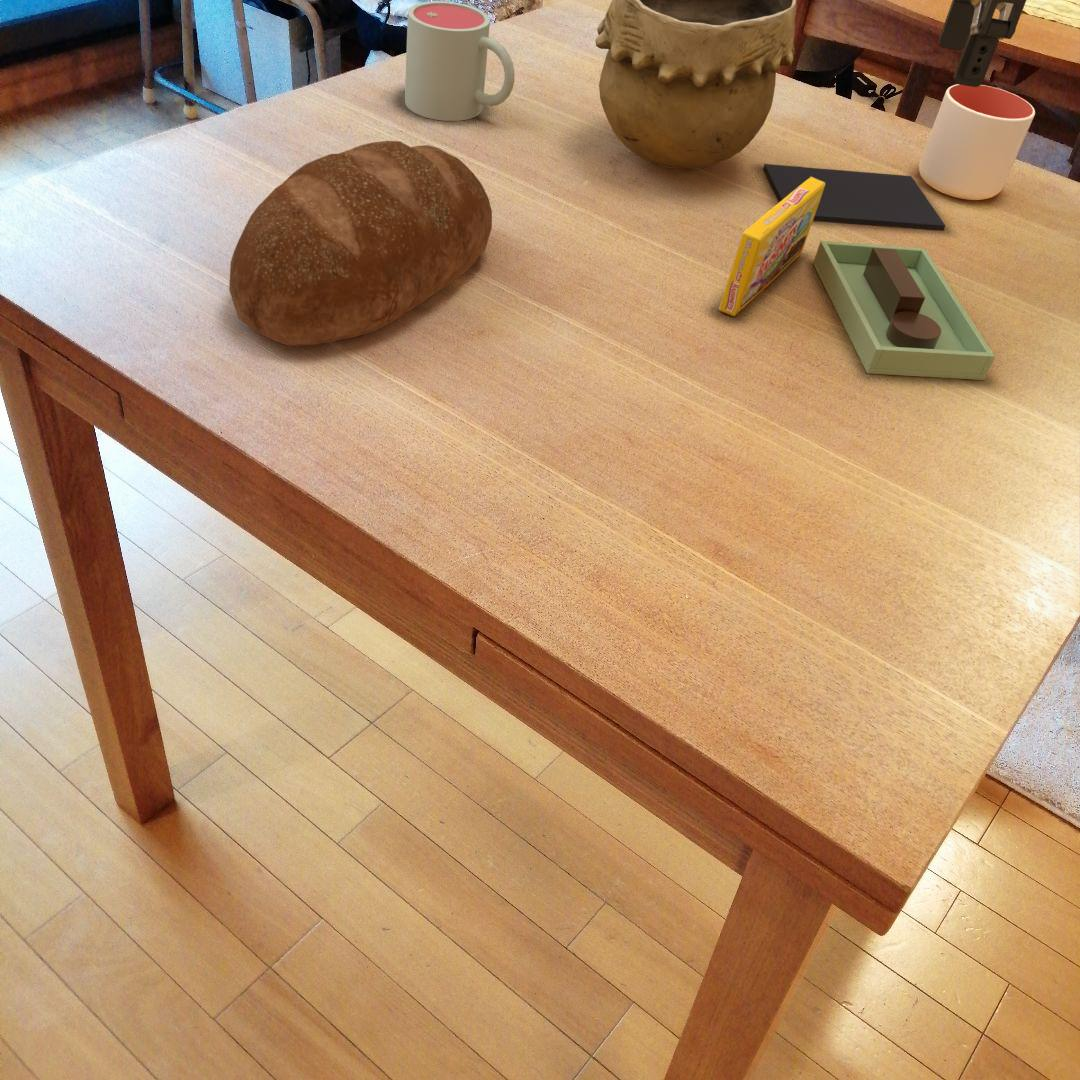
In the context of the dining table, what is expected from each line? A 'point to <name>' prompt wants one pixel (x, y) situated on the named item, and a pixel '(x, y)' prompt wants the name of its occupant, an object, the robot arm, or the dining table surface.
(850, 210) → the mat
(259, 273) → the bread
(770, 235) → the candy box
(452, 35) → the mug
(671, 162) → the clay pot
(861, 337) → the tray
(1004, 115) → the cup
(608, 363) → the dining table surface
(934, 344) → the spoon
